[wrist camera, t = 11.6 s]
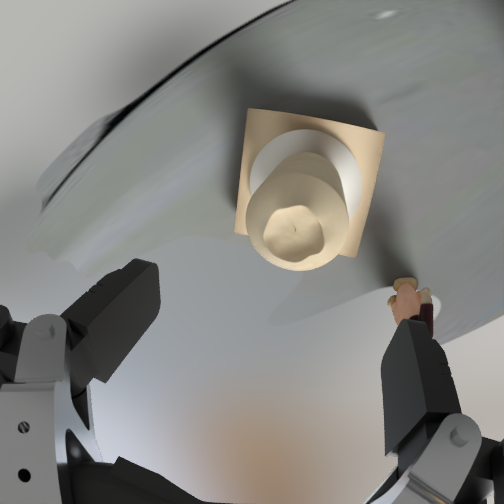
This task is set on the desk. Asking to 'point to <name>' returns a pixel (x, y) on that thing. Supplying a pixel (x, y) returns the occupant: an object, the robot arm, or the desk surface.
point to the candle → (299, 213)
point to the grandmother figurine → (412, 302)
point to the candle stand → (319, 142)
